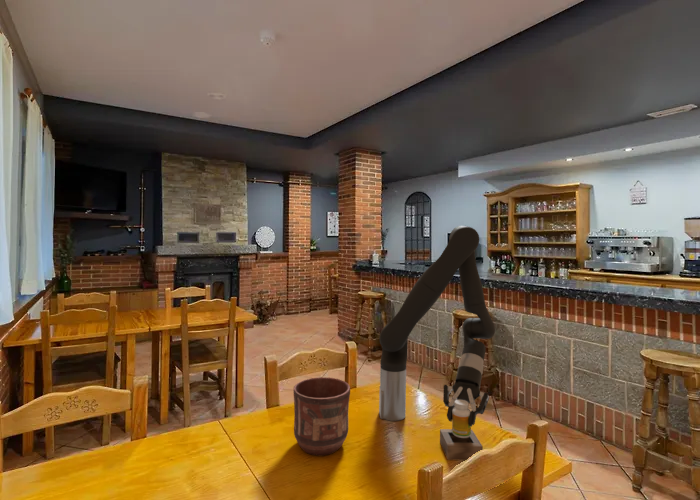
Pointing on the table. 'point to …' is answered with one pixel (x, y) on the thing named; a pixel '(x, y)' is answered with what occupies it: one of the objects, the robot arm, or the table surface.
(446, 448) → the collar block
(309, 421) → the pottery
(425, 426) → the table surface
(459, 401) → the supplement bottle
